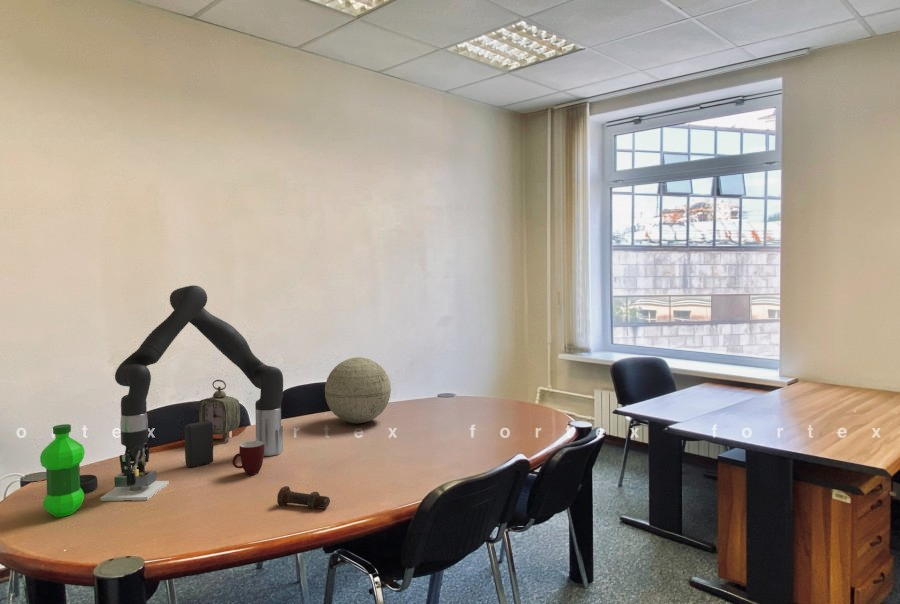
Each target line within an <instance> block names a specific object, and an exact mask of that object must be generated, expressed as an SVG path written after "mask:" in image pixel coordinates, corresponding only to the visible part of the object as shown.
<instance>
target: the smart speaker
mask: <svg viewBox="0 0 900 604" xmlns="http://www.w3.org/2000/svg"><path fill="white" fill-rule="evenodd" d="M98 481H99V480H98V477H97V476H96V475H94V474H80V488H81V489H82V490H83V492H84V495H85V494H88V493H91V492H93V491H95V490H96V489H97V488H98V485H99V484H98V483H99V482H98Z"/></svg>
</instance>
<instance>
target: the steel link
mask: <svg viewBox="0 0 900 604" xmlns="http://www.w3.org/2000/svg"><path fill="white" fill-rule="evenodd" d="M155 481H157V470H145V471H139V476H135V484H134V485H132V486H128V485H127V480H126V474H125V473H122V472H121V473H119V474H118V475H116V476H114V488H116V487H148V486H149V485H151V484H152V483H153V482H155Z"/></svg>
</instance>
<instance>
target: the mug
mask: <svg viewBox="0 0 900 604" xmlns="http://www.w3.org/2000/svg"><path fill="white" fill-rule="evenodd" d="M238 451H239V453H236V454H235V455H234V456H233V458H232V460H231V461H232V465H233V467H234V468H236V469H243V471H244V473H246V475H248V476H254V475H257V474H259V472H260V471H261V469H262V467H263V463H264V458H265V456H264V442H262V441H256V440H250V441H245V442H242V443H240V444H239V450H238ZM238 458H240V461H241V465H237V459H238Z"/></svg>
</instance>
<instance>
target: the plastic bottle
mask: <svg viewBox="0 0 900 604" xmlns="http://www.w3.org/2000/svg"><path fill="white" fill-rule="evenodd" d="M71 432H72V425H71V424H68V423H67V424H66V423H65V424H63V423H62V424H58V425H54V426H53V427H52V434H53V435H54V438H55V439H53V440H52V441H51V442H50V443H49V444H47V446H45V448H44V449H43V450H41V454H40V457H39V459H40V460H39V461H40V465H41V467H43V468H44V469H46V470H45V471H46V473H45V474H46V495H45V497H44V499H43V501H42V505H43V507H42V508H44V511H46V512H47V513H49V514H50V515H53V516H54V517H56V518H61V517H63V518H64V517H67V516H71V515H72V514H75V513H76V511H77V510H78V509H80V508H81V506H82V504H83V502H84V501H85V494H84V492H83V490H82V489H81V488H80V475H81V473H80V472H81V471H80V470H81V468H80V464H81V462H82V461H83V460H84V456H85V447H84V446H83V444H81V442H79V441H77V440H76V439H74V438H73V437H72V438H71V437H70V433H71Z"/></svg>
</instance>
